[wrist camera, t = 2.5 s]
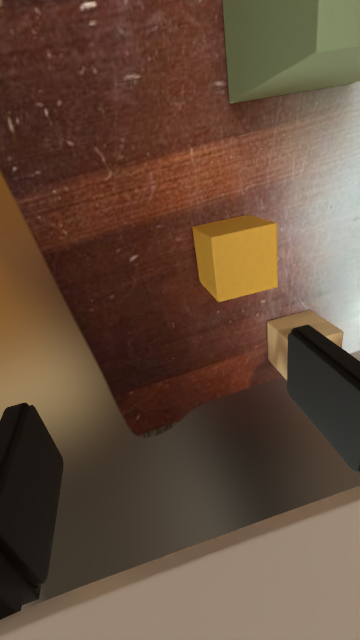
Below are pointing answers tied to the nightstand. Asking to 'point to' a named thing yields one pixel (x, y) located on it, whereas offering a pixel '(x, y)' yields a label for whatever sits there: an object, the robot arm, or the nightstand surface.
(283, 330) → the maple block
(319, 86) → the stand
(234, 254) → the mustard block
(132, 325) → the nightstand surface
